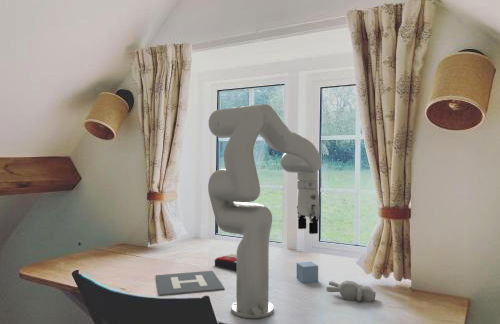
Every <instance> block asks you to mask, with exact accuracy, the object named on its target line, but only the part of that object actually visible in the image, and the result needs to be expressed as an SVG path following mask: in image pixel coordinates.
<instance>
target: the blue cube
mask: <svg viewBox="0 0 500 324" xmlns="http://www.w3.org/2000/svg"><path fill="white" fill-rule="evenodd" d="M296 279H297V280H298V281H300V282H301V283H302V284H311V283H319V265H318V264H316V263H314V262H313V261H303V262H302V261H301V262H296Z"/></svg>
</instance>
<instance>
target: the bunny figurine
mask: <svg viewBox="0 0 500 324" xmlns="http://www.w3.org/2000/svg"><path fill="white" fill-rule="evenodd" d="M328 285H329V286H326V288H325V289H326V292H328V293H339V294H340V296H341V298H342V299H344V300H347V301H351V302H352V301H358V302H361V301H362V302H363V303H367V304H368V303H371V302H372V301H375V300H376V294H377V293H376V292H377V291H374V290H373V289H372V288H371V286H368V285H362V284H358V283H356V281H355V282H354V281H351V280H345V281H342V282H340V283H337V282H336V281H333V280H331V281H328Z"/></svg>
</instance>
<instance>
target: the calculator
mask: <svg viewBox="0 0 500 324" xmlns="http://www.w3.org/2000/svg"><path fill="white" fill-rule="evenodd" d="M214 267H218V268H223V269H226V270H227V269H228V270H232V271H234V272H237V254H235V253H234V254H233V253H231V254H230V253H229V254H226V255H224V256H223V255H222V256H220V257H216V258H215V259H214Z"/></svg>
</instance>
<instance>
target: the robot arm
mask: <svg viewBox="0 0 500 324" xmlns="http://www.w3.org/2000/svg"><path fill="white" fill-rule="evenodd" d="M207 124H208V129H209V131H210V133H211V134H212V135H214V136H215V137H217V138H221V139H225V138H229V139H228V141H227V143H226V145H225V147H224V150H223V162H224V168H221V169H217V170H215V171H214V172H213V173H211V175H210V177H209V179H208V184H207V188H208V189H207V191H208V196H209V200H210V204H211V208H212V211H213V215H214V218H215V223H216V224H217V227H218V228H219V229H220V230H221V231H223V232H224V233H229V234H236V235H240V236H242V239H241V240H240V242H239V243H238V246H237V248H236V255H237V271H236V294H235V295H236V296H235V297H236V300H235V302H234V303H232V305H230V309H231V310H230V311H231V313H232V314H233V315H235V316H236V317H240V318H244V319H261V318H267V317H269V316H271V315H272V314H273V313H274V309H275V308H274V305H273V303H271V302H270V301H269V288H270V287H269V284H270V283H269V279H270V278H269V276H270V275H269V271H270V270H269V259H270V258H269V254H270V252H269V251H270V249H269V248H270V247H269V245H270V236H271V229H272V224H273V214H272V212H271V210H270V209H269V208H268V207H267V206H266V205H263V204H260V203H253V202H255V201H256V200H257V199H258V198H259V197H260V195H261V186H260V180H259V176H258V170H257V166H256V162H255V156H254V155H255V154H254V150H255V145H256V142H257V139H258V136H260V137H262V139H263V140H264V142H265V143H266V144H267V145H268V147H270V149H272V150H274V151H277V152H279V153H282V154H283V155H282V157H281V160H280V165H281V167H282V169H283V170H284V171H285V172H287V173H295V174H296V173H297V176H296V177H297V178H296V179H297V184H296V187H297V190H298V191H297V206H296V209H297V210H296V211H297V227H298V228H297V229H298V230H306V229H307V218H308V219H309V223H308V230H309V231H308V233H309V235H310V234H311V235H315V234H318V233H319V219H320V215H321V212H320V197H319V190H318V189H319V188H318V185H319V184H318V183H319V181H318V179H319V178H318V176H319V175H318V172H319V170H320V169H321V167H322V164H323V163H322V157H321V154H320V152H319V151H318V149H317V148H316V146H315V145H314V143H313V142H311V141H310V140H309V139H307V138H305V137H303V136H302V135H300V134H297V133H296V132H294V131H292V130H290V129H289V127H288V126H287V124H286V123H285V122H284V120H283V119H282V117H281V116H280V115H279V113H278V112H277V110H276V109H275V108H274V107H273V106H272V105H270V104H265V103H261V104H260V103H259V104H251V105H242V106H237V107H230V108H221V109H216V110H214V111H213V112H212V113H211V114H210V115H209V119H208V123H207Z"/></svg>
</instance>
